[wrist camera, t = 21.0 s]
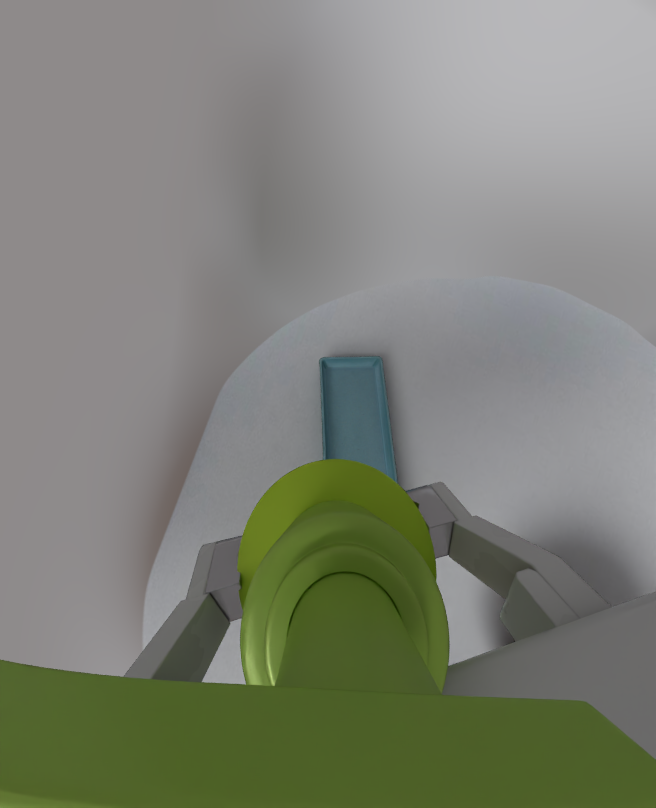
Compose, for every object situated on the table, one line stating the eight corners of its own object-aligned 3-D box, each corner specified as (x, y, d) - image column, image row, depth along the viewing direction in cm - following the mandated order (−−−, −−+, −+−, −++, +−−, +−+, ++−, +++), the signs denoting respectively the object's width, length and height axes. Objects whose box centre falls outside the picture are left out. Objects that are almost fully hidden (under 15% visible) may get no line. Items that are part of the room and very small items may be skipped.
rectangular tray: (318, 363, 37) (318, 355, 35) (378, 362, 37) (382, 354, 35) (325, 563, 29) (326, 570, 27) (402, 558, 29) (409, 565, 27)
